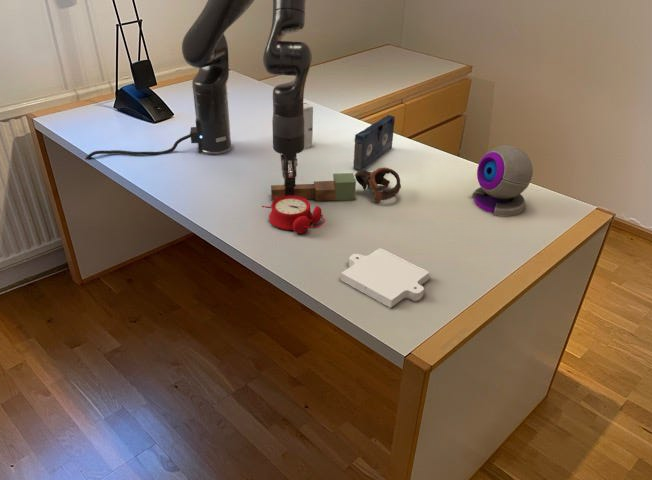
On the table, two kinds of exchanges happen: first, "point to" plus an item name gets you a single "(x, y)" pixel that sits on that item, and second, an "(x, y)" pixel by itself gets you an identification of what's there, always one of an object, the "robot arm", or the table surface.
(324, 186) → the wooden stamp
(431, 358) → the table surface
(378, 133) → the vhs cassette tape
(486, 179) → the webcam
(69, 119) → the table surface
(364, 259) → the mounting plate
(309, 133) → the cosmetic box
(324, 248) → the table surface
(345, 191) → the block
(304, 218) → the alarm clock
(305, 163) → the table surface
